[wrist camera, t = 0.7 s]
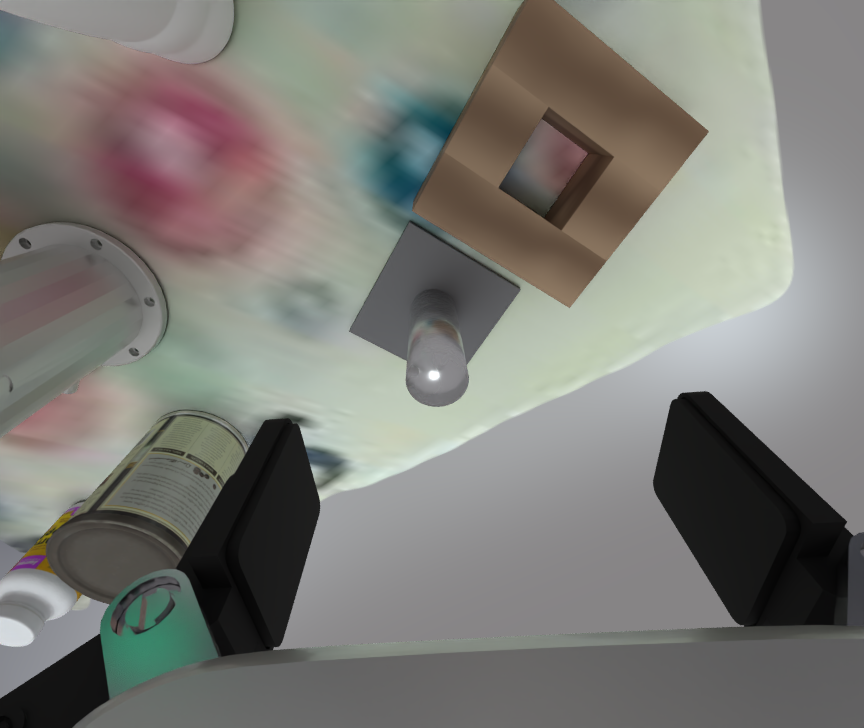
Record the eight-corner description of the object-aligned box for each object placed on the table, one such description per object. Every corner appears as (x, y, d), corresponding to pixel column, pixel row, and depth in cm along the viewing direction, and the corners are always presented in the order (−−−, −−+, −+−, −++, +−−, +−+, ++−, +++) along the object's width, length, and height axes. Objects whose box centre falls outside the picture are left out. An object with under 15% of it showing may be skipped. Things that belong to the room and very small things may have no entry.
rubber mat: (452, 381, 42) (452, 384, 41) (350, 328, 39) (349, 331, 39) (519, 287, 38) (520, 289, 37) (409, 221, 35) (409, 222, 34)
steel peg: (440, 339, 39) (447, 415, 29) (402, 318, 38) (394, 390, 28) (464, 303, 38) (480, 370, 27) (425, 280, 37) (426, 341, 26)
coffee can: (243, 494, 49) (182, 618, 36) (147, 472, 47) (48, 595, 34) (258, 424, 44) (194, 539, 32) (152, 396, 42) (39, 507, 30)
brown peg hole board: (552, 287, 38) (569, 307, 33) (413, 200, 34) (412, 210, 30) (669, 131, 32) (709, 131, 28) (518, 7, 28) (535, -15, 24)
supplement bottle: (98, 490, 48) (-3, 601, 37) (142, 526, 51) (62, 640, 39) (55, 511, 49) (-54, 624, 38) (101, 545, 52) (12, 660, 41)
